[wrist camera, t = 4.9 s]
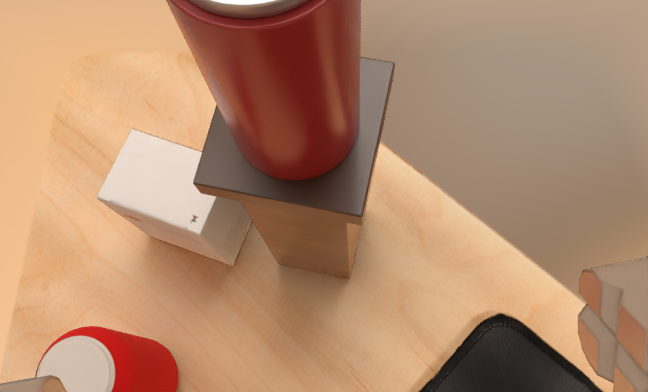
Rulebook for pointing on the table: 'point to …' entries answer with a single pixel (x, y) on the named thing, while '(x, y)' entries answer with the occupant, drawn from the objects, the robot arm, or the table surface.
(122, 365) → the beverage can
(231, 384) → the table surface
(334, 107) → the soda can
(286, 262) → the walnut stand
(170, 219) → the small box
